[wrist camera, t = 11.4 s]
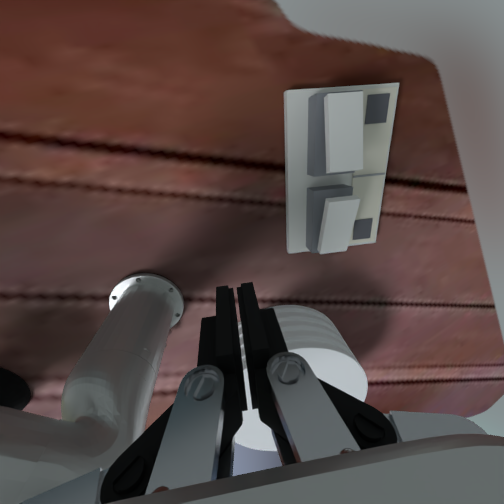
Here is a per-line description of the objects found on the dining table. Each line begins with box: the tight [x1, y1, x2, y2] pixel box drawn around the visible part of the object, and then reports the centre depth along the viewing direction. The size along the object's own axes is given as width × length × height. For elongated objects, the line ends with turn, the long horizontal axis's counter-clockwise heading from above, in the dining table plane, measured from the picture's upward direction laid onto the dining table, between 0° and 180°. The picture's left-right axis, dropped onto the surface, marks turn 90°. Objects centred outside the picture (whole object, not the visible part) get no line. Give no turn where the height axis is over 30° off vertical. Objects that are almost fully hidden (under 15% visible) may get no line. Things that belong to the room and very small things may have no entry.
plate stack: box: [235, 305, 368, 451], centre depth 49 cm, size 28×28×12 cm
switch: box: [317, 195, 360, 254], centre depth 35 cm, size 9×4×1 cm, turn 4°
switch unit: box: [284, 83, 399, 254], centre depth 37 cm, size 24×16×4 cm, turn 4°
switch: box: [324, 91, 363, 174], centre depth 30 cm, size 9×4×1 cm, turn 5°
